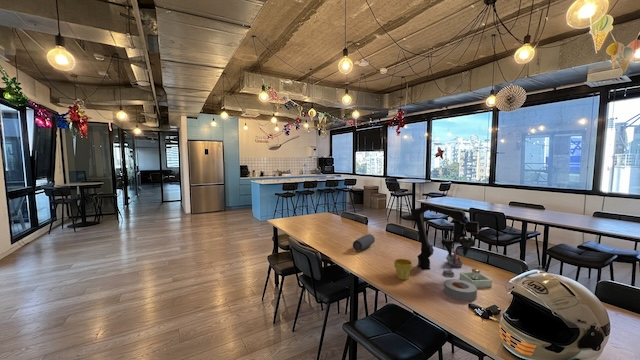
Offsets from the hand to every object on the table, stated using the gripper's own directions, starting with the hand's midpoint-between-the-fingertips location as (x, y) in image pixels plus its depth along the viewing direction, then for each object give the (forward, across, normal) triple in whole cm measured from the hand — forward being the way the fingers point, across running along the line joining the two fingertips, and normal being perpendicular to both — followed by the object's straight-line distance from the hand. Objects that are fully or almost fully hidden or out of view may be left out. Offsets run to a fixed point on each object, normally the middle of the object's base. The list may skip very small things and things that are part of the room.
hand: (457, 256), depth 163 cm
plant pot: (+13, -34, +1) cm, 36 cm away
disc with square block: (+12, -4, +2) cm, 13 cm away
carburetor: (+13, +9, +16) cm, 23 cm away
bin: (+12, +5, -10) cm, 17 cm away
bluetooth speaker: (+13, -43, +54) cm, 70 cm away
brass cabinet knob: (+12, +5, -10) cm, 16 cm away
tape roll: (+13, -12, -21) cm, 27 cm away
